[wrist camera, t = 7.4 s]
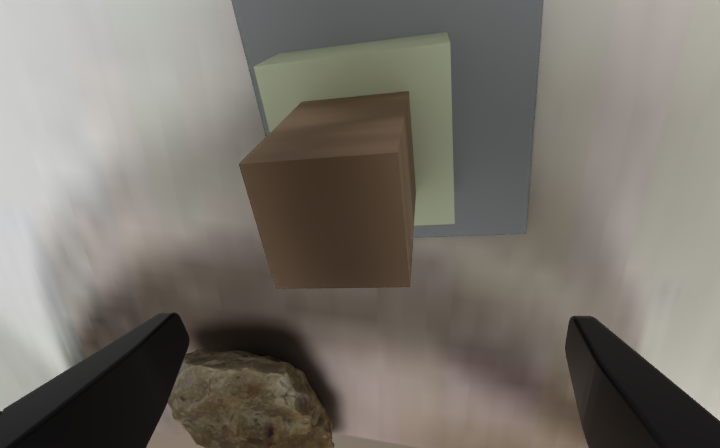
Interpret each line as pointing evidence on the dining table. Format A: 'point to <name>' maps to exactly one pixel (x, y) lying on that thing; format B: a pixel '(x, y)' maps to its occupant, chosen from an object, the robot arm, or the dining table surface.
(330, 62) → the base block
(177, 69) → the dining table surface
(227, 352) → the stone
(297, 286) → the walnut block
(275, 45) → the build mat
